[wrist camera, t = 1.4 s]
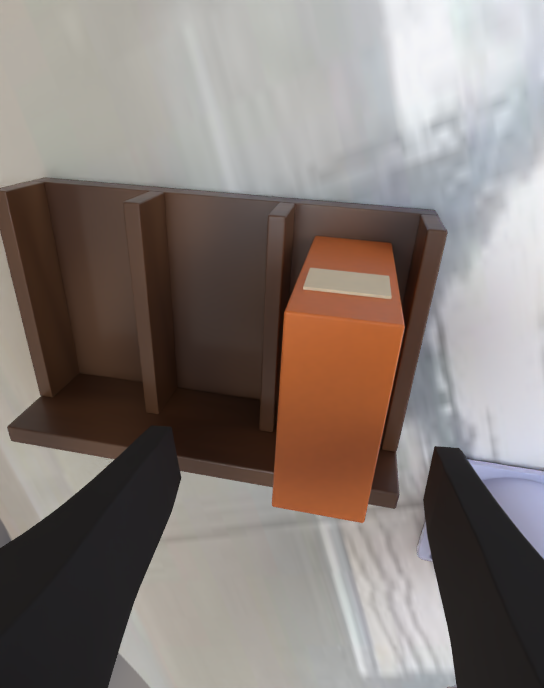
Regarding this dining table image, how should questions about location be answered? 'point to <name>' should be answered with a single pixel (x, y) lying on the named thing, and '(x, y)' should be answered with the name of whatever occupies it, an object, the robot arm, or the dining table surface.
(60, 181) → the book rack
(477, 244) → the dining table surface
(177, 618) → the dining table surface
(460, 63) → the dining table surface
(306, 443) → the book
